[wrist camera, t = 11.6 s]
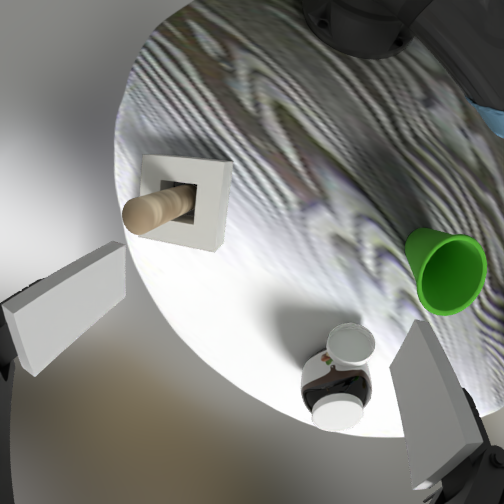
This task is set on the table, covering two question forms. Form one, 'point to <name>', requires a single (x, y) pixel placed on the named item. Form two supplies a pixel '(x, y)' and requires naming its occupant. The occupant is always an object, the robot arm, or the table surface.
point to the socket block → (207, 198)
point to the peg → (158, 208)
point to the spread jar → (339, 378)
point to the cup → (446, 269)
